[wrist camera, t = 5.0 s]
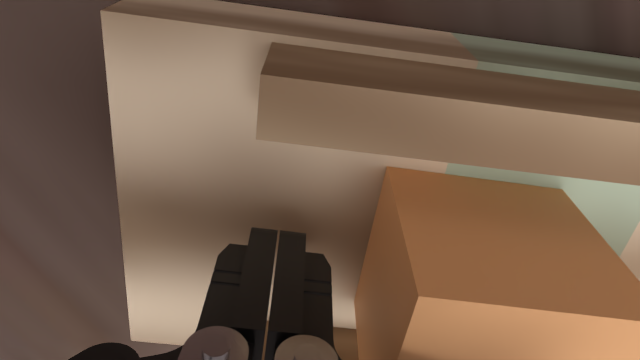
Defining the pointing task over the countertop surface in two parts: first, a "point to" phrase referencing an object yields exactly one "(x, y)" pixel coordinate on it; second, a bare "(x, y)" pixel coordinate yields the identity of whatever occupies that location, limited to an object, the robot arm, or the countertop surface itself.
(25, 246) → the countertop surface
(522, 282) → the block
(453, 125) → the cream tray
